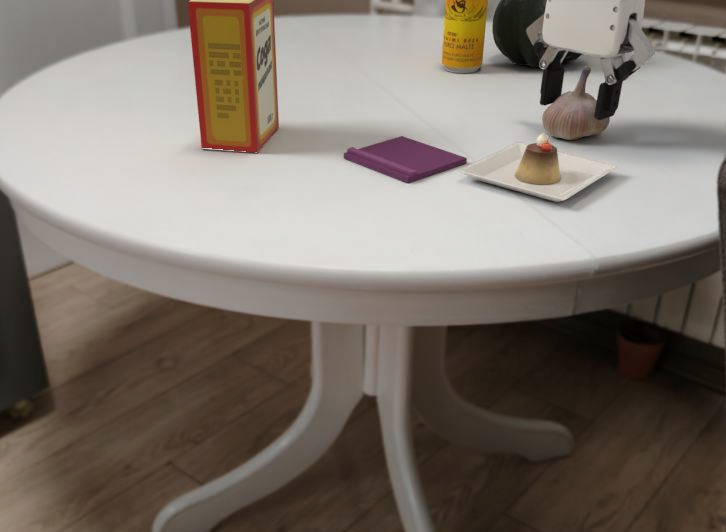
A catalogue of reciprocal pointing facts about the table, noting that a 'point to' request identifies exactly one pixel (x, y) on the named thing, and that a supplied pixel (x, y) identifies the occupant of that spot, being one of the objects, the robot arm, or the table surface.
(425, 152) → the purple flat slab
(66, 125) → the table surface
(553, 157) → the dessert
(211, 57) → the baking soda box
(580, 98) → the garlic bulb
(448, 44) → the beer can
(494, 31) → the squash
